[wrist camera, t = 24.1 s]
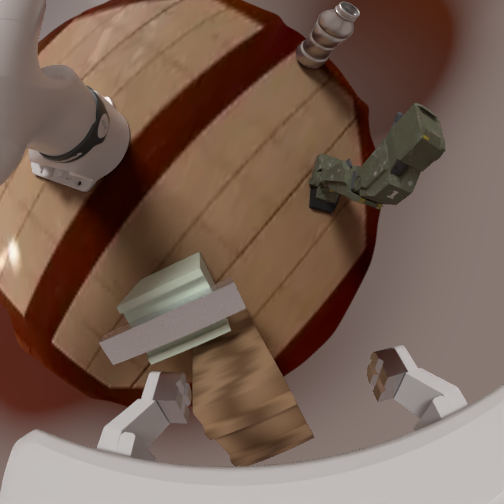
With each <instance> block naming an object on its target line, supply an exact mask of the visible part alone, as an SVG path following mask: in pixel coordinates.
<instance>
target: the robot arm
mask: <svg viewBox="0 0 504 504" xmlns="http://www.w3.org/2000/svg"><path fill="white" fill-rule="evenodd" d="M45 10H46V0H0V186H1V185H2V184H3V183H4V182H5V181H6V180H7V179H8V178H9V177H10V176H11V174H12V173H13V172H14V171H15V169H16V168H17V166H18V165H19V163H20V162H21V160H22V157H23V154H24V152H25V149H26V148H28V149H29V158H30V161H31V167H32V172H33V173H34V174H35V175H37V176H40V177H43V178H46V179H49V180H51V181H54V182H57V183H60V184H63V185H65V186H68V187H71V188H74V189H77V190H80V191H82V192H87V191H89V190H90V189H91V188H92V187H93V185H94V184H95V183H96V181H97V180H99V179H100V178H102V177H103V176H105V175H107V174H108V173H110V172H111V171H112V170H113V169H114V168H115V167H116V166H117V165H118V164H119V163H120V162H121V160H122V159H123V157H124V155H125V153H126V151H127V148H128V144H129V137H130V134H129V127H128V124H127V122H126V120H125V118H124V117H123V116H122V115H121V114H120V113H119V112H118V111H117V110H116V109H115V106H114V103H113V101H112V99H111V98H109V97H103V96H102V95H101V94H99V93H98V92H97V91H94V90H93V89H91V88H90V87H88V86H86V85H85V84H84V83H83V81H82V80H81V79H80V78H79V76H78V75H77V74H76V73H75V72H74V70H73V69H72V68H70V67H68V66H66V65H51V66H46V67H43V68H40V65H39V61H38V55H37V50H38V39H39V34H40V30H41V26H42V21H43V18H44V14H45ZM79 182H81V185H80V186H79ZM371 360H372V362H371V363H370V364H369V365H368V369H367V376H368V380H369V383H370V384H371V385H373V386H374V390H373V392H374V395H375V397H376V399H377V402H380V401H384V400H387V399H391V398H394V399H395V400H396V401H398V402H399V403H400V404H402V405H403V406H404V407H406V408H407V409H408V410H410V411H411V412H412V413H413V414H415V415H416V416H417V417H419V418H420V420H419V421H418V423H417V424H416V426H415V427H414V432H411V433H409V434H406V435H403V436H400V437H398V438H395V439H392V440H389V441H386V442H383V443H380V444H377V445H373V446H369V447H366V448H362V449H359V450H355V451H351V452H347V453H342V454H338V455H333V456H328V457H323V458H318V459H312V460H305V461H299V462H292V463H282V464H273V465H259V466H195V465H182V464H173V463H164V462H156V458H155V456H154V455H153V454H152V453H151V452H150V451H149V450H148V448H149V447H150V446H151V445H152V443H153V442H154V441H155V440H156V439H157V438H158V437H159V436H160V434H161V433H162V432H163V431H164V430H165V429H166V427H167V426H168V425H169V423H188V418H189V409H188V406H189V405H190V404H191V388H190V385H189V384H188V383H187V382H186V376H185V373H178V372H156V371H151V372H150V373H149V375H148V379H147V382H146V385H145V388H144V391H143V394H142V398H141V399H137V400H136V401H135V402H134V403H133V404H131V405H130V406H129V407H128V408H127V409H125V410H124V411H123V412H122V413H121V414H119V415H118V416H117V417H116V418H115V419H113V420H112V421H111V422H110V423H109V424H107V425H106V426H105V427H104V429H103V431H102V435H101V437H100V440H99V443H98V446H97V449H94V448H91V447H87V446H84V445H81V444H78V443H74V442H71V441H68V440H66V439H63V438H60V437H57V436H54V435H52V434H50V433H47V432H44V431H42V430H34V431H31V432H30V433H28V434H27V435H25V436H24V437H22V438H21V439H19V440H18V441H17V442H16V443H15V445H14V447H13V449H12V452H11V454H10V458H9V460H8V463H7V466H6V470H5V474H4V477H3V482H2V487H1V492H0V504H504V384H503V385H501V386H500V387H498V388H497V389H496V390H494V391H492V392H491V393H489V394H488V395H486V396H485V397H483V398H481V399H479V400H478V401H476V402H474V403H472V404H471V405H468V404H467V402H466V400H465V399H464V397H463V395H462V394H461V392H460V390H459V389H458V387H456V386H454V385H452V384H450V383H448V382H446V381H444V380H443V379H441V378H439V377H437V376H435V375H433V374H431V373H429V372H427V371H425V370H423V369H422V368H419V369H418V368H417V366H416V364H415V363H414V361H413V360H412V358H411V356H410V355H409V353H408V352H407V350H406V348H405V347H404V346H403V345H401V346H397V347H393V348H388V349H384V350H380V351H376V352H373V353H372V354H371Z"/></svg>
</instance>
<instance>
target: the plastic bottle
mask: <svg viewBox="0 0 504 504" xmlns="http://www.w3.org/2000/svg"><path fill="white" fill-rule="evenodd" d="M359 14H360V13H359V10H358V9H357V8H356V7H355V6H353V5H352V4H350V3H348V2H341V3H340V4H339V5H338V6H336V7H335V10H327V11H325V12H323V13H321V14H320V16H319V18H318V20H317V22H316V25H315V27H314V29H313V31H312V32H311V34H310V35H309V36H308V37H307V38H306V40H305V41H303V42H302V43H301V44H300V45H299V46H298V47H297V51H296V57H297V59H298V61H299V62H300V63H301V64H302V65H304V66H305V67H308V68H319V67H321V66H322V65H324V64H325V62H326V61H327V59H328V56H329V55H330V53H331V52H332V50H333V49H334V48H335V47H336V46H337V45H338V44H339V43H341V42H342V41H344V40H345V39H347V38H348V37H349V36H350V35H351V34H352V32H353V21H355V20H356V18H357V17H358V16H359Z"/></svg>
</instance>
